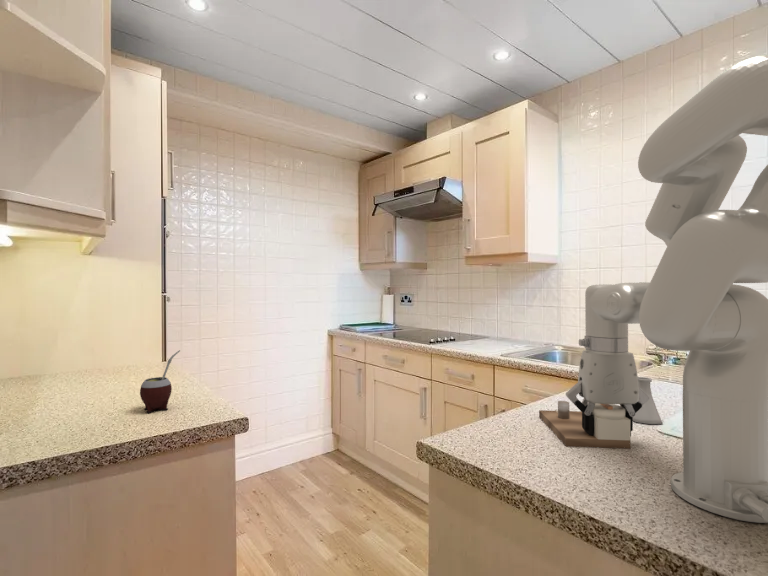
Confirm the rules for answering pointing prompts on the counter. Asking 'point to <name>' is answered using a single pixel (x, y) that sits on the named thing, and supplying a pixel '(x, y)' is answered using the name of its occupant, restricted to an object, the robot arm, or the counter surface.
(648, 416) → the flask
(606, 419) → the knob
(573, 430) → the hub board
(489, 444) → the counter surface
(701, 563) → the counter surface
